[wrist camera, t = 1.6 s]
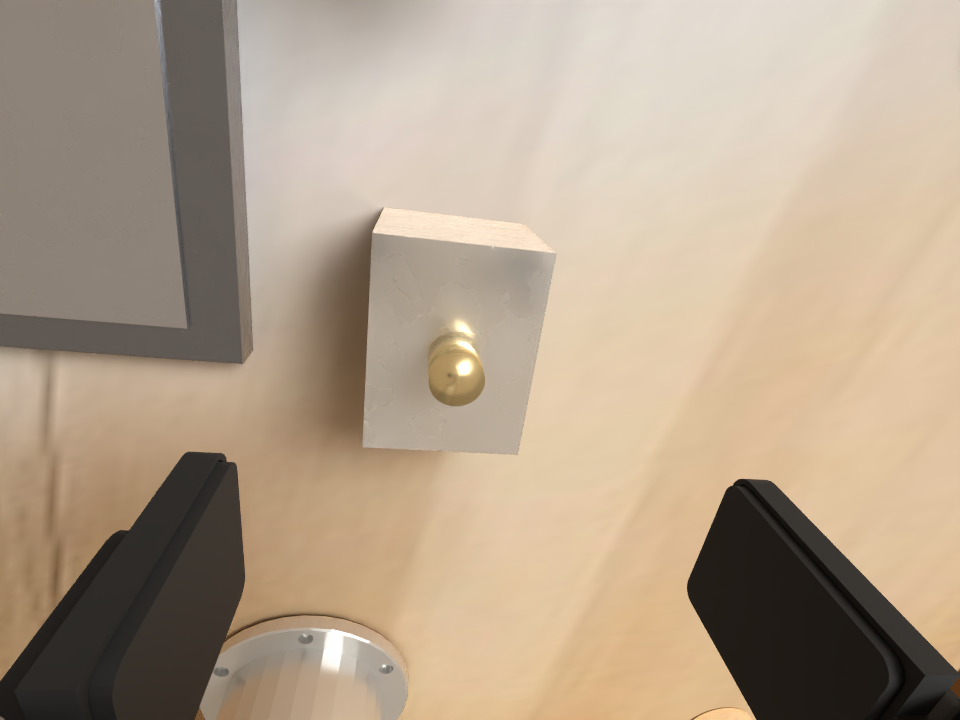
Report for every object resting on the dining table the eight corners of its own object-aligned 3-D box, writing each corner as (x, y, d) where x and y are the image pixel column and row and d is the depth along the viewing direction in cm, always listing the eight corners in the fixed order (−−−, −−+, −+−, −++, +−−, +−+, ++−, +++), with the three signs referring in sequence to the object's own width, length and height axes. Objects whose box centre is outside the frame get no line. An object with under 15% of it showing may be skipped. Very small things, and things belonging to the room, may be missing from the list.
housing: (496, 385, 25) (527, 486, 18) (375, 377, 24) (356, 480, 17) (522, 223, 22) (573, 268, 15) (384, 207, 21) (365, 245, 14)
